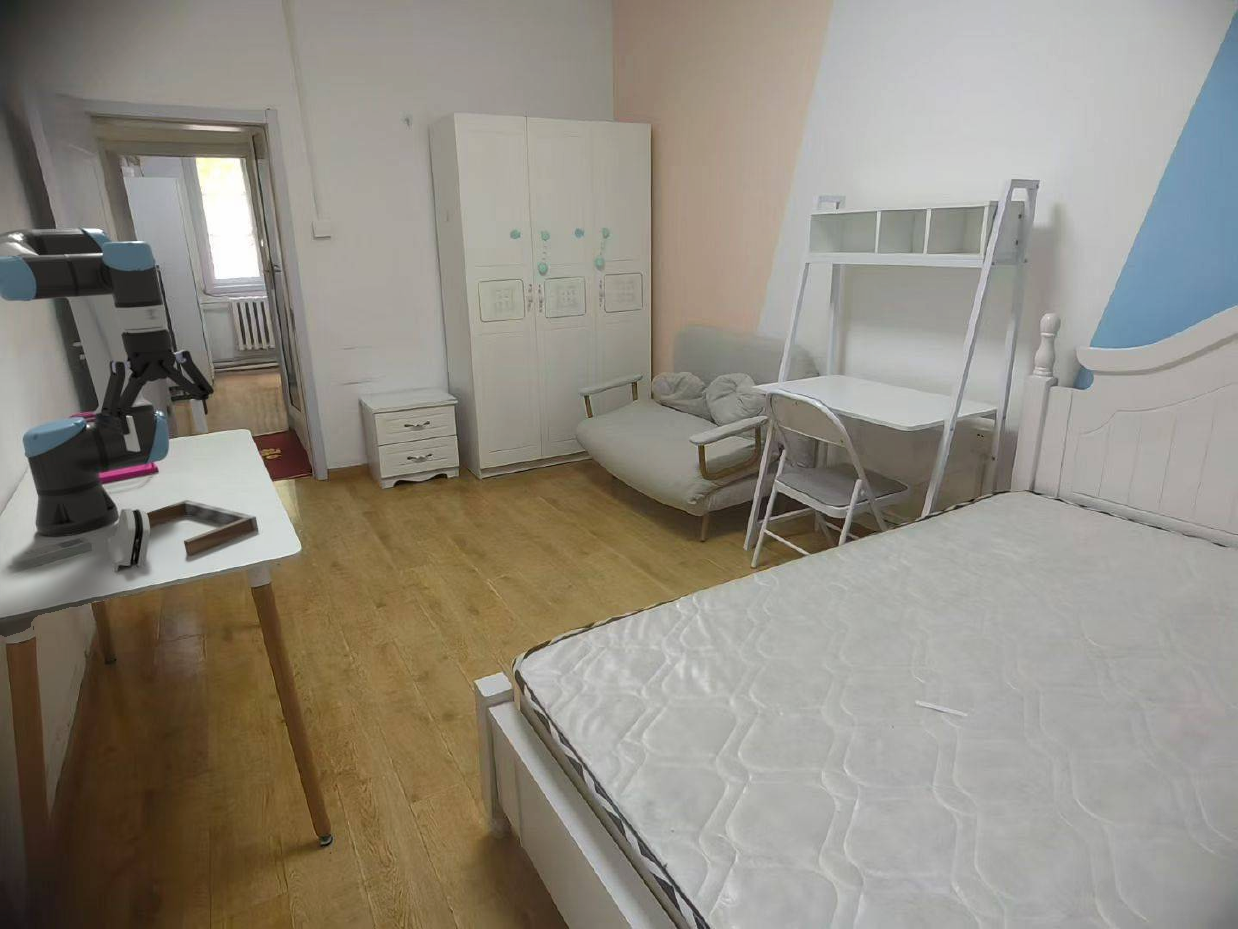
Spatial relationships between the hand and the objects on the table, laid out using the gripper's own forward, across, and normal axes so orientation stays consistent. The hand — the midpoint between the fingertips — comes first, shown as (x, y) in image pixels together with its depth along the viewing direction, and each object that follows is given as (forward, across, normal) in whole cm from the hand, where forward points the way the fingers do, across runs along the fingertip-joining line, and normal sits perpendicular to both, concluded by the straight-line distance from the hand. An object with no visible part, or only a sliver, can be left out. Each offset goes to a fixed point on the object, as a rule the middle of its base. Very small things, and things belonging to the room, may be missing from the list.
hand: (169, 441), depth 141 cm
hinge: (+24, -5, +12) cm, 27 cm away
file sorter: (+25, +29, +76) cm, 85 cm away
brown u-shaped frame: (+24, +7, +11) cm, 27 cm away
